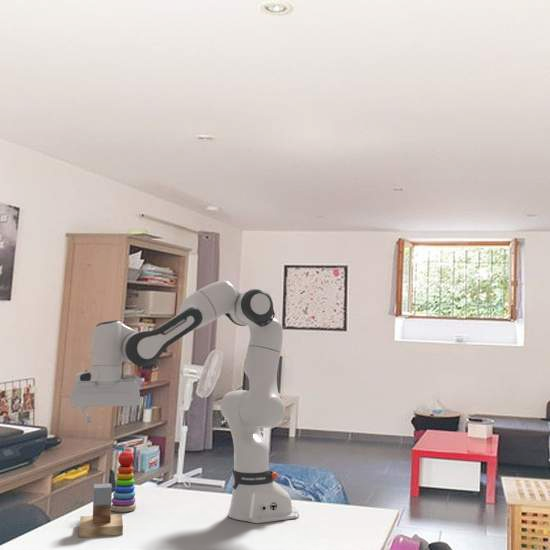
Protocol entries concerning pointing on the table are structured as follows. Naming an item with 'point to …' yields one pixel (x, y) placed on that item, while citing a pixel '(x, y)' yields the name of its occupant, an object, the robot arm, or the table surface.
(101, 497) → the slate block
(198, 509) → the table surface
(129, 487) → the stacking toy
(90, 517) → the base board
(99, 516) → the walnut block
